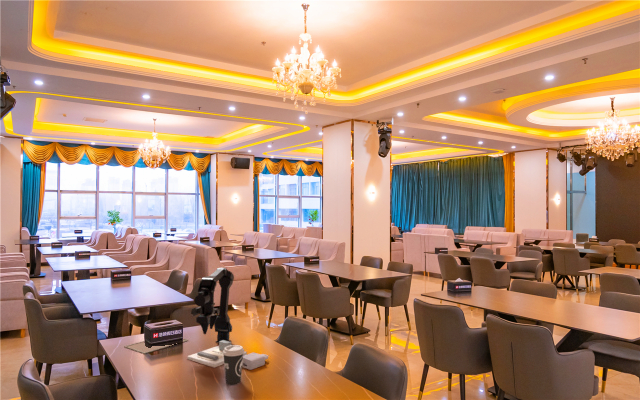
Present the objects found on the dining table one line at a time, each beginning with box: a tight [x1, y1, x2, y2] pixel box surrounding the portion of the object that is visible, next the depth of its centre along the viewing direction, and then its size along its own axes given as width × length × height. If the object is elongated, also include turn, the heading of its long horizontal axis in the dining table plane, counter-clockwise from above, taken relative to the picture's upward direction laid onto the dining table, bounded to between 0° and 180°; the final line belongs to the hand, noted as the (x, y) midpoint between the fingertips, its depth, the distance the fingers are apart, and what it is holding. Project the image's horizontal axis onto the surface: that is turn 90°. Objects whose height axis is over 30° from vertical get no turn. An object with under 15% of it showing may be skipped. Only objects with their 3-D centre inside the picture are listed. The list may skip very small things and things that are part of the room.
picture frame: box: [123, 338, 189, 355], centre depth 242 cm, size 19×1×28 cm
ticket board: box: [187, 345, 247, 368], centre depth 222 cm, size 22×20×3 cm
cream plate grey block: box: [213, 340, 232, 353], centre depth 226 cm, size 8×10×5 cm
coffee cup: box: [222, 344, 245, 386], centre depth 190 cm, size 10×10×15 cm
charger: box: [242, 352, 269, 371], centre depth 212 cm, size 5×9×15 cm
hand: (208, 331), depth 225 cm, fingers open, 9 cm apart
